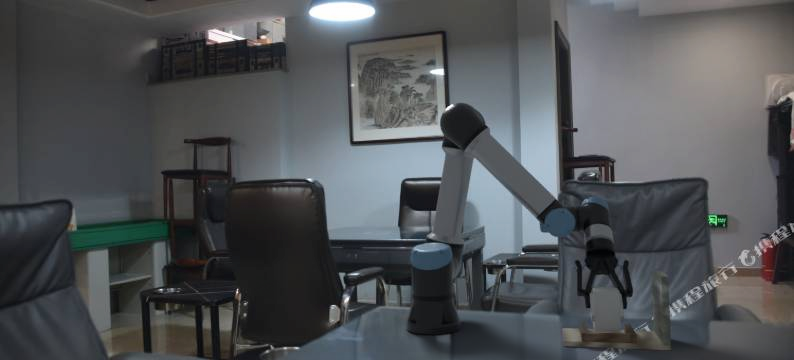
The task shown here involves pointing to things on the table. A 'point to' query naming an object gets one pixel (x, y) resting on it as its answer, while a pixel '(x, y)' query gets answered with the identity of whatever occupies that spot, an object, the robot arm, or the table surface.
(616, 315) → the grey upright block
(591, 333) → the display stand
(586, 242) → the robot arm
